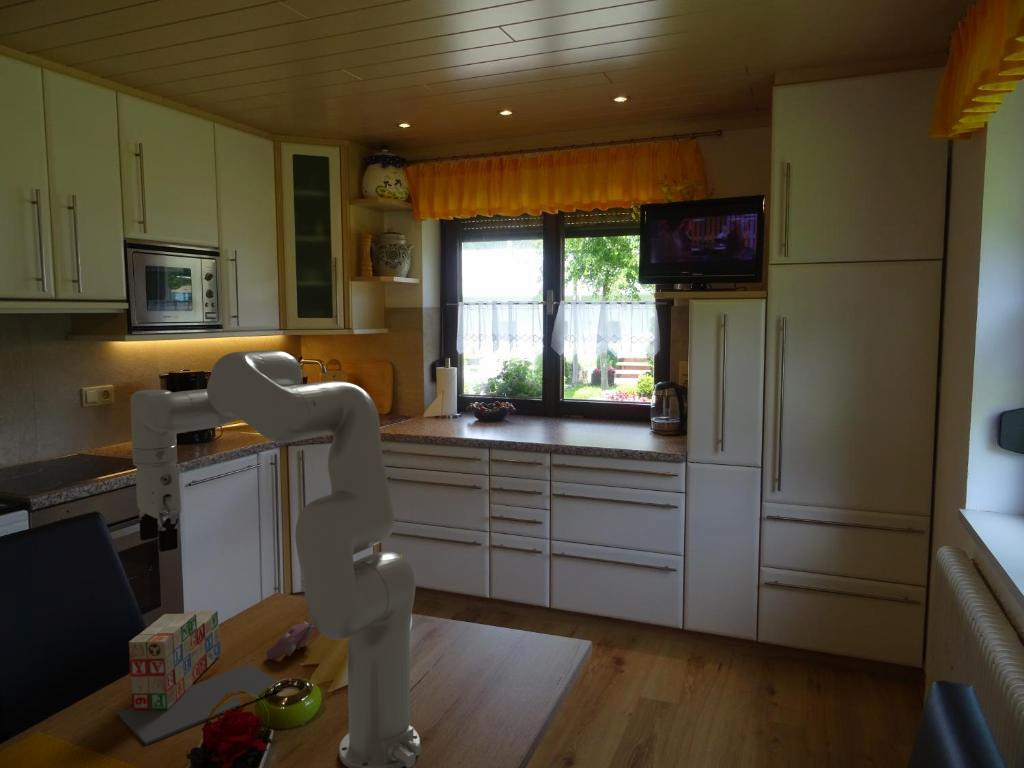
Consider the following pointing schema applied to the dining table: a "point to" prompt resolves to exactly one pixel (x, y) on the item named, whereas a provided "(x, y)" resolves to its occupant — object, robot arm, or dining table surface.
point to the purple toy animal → (291, 640)
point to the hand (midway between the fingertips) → (158, 544)
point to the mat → (195, 704)
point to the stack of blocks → (171, 657)
